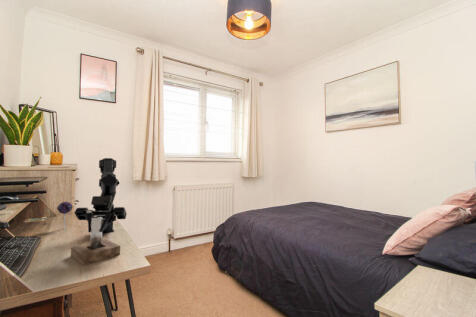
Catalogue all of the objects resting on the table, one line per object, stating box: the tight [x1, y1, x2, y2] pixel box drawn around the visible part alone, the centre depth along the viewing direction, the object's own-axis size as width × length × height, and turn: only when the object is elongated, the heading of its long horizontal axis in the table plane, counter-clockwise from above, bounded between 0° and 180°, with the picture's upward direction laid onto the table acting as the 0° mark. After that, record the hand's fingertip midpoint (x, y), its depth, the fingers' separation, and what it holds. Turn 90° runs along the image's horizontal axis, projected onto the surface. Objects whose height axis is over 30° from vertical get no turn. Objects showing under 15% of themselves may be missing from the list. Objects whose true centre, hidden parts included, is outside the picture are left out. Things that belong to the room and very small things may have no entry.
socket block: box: [70, 239, 121, 266], centre depth 92 cm, size 13×13×4 cm
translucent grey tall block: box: [89, 216, 103, 249], centre depth 93 cm, size 4×4×12 cm
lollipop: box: [57, 201, 74, 230], centre depth 127 cm, size 7×7×15 cm
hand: (95, 231), depth 91 cm, fingers closed on translucent grey tall block, 4 cm apart
